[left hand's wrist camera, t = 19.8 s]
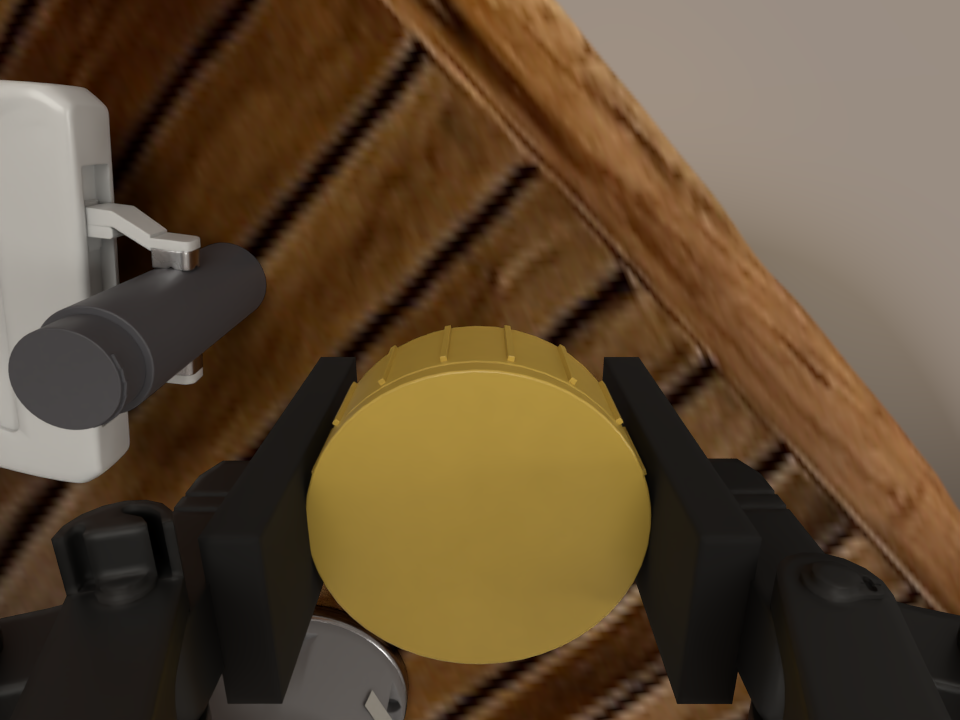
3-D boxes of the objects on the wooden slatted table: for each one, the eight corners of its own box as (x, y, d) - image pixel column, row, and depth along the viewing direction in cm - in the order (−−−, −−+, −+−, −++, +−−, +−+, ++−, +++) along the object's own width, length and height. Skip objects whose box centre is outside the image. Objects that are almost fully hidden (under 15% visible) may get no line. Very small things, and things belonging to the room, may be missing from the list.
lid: (590, 283, 11) (616, 319, 9) (652, 547, 13) (685, 627, 11) (286, 368, 12) (244, 420, 9) (388, 609, 13) (371, 697, 11)
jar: (211, 327, 40) (44, 452, 25) (175, 257, 39) (-28, 344, 23) (279, 303, 40) (152, 415, 24) (245, 231, 38) (86, 302, 23)
